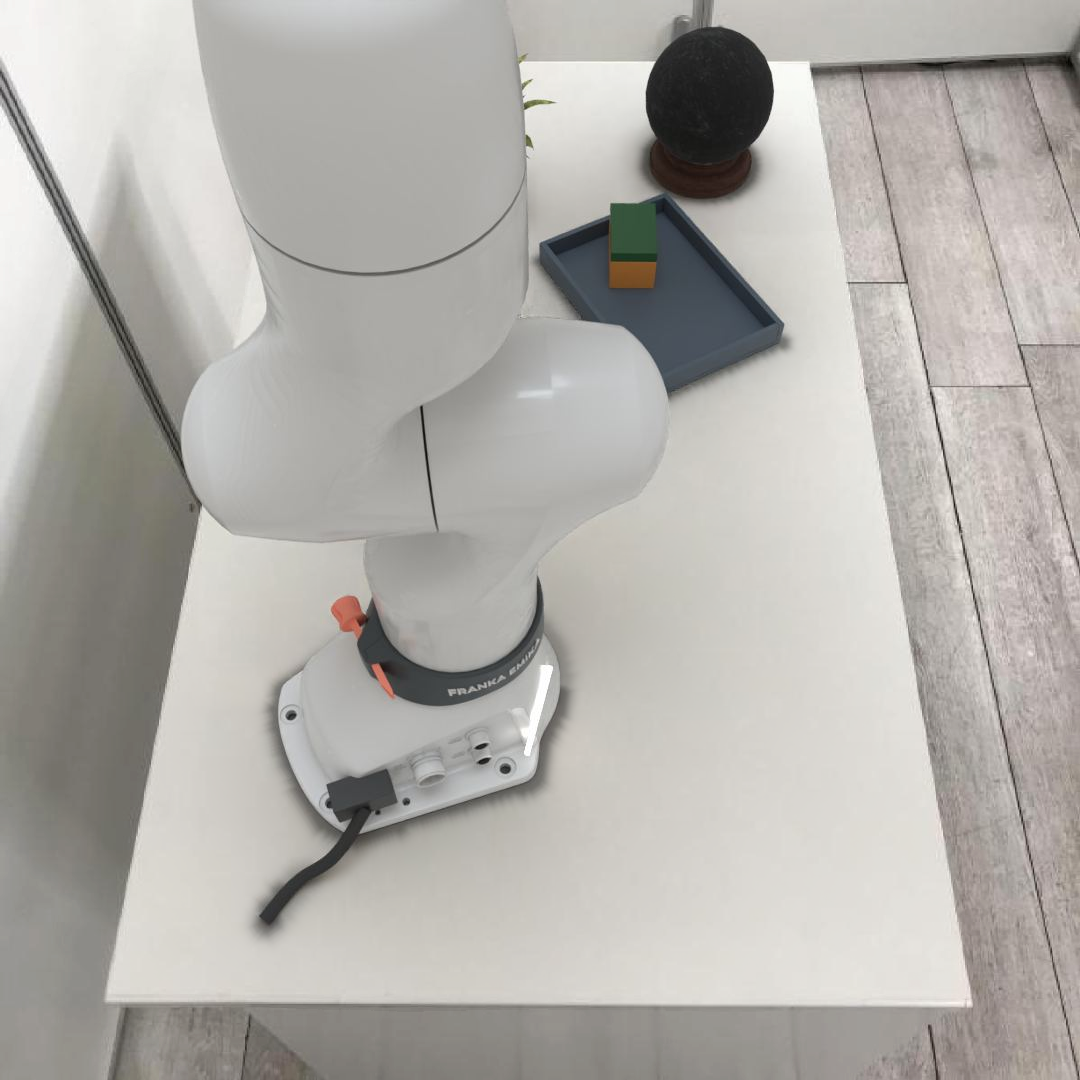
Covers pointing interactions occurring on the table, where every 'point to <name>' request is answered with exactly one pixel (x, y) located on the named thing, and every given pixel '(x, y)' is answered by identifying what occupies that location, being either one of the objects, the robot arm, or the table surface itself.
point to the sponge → (632, 245)
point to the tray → (667, 296)
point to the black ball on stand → (707, 111)
